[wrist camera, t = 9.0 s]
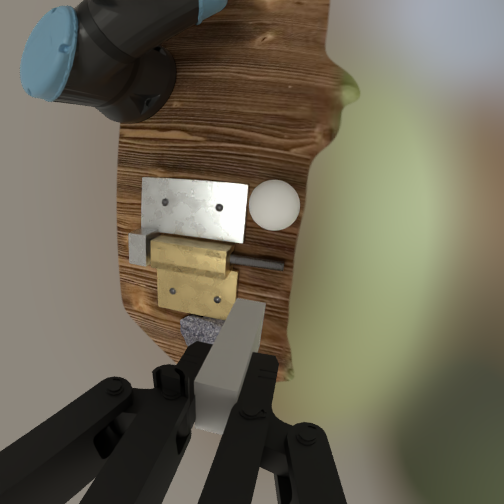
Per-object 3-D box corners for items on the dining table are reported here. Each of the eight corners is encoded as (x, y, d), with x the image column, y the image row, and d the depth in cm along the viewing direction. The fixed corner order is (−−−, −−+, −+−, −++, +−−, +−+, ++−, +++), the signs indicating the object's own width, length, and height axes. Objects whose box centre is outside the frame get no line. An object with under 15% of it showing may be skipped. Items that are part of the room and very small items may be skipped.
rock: (240, 330, 45) (237, 381, 47) (249, 317, 50) (244, 366, 52) (172, 316, 48) (174, 365, 49) (186, 306, 53) (186, 353, 55)
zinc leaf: (145, 176, 46) (129, 178, 41) (293, 189, 42) (291, 192, 37) (144, 254, 50) (129, 263, 45) (282, 276, 46) (279, 288, 41)
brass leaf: (159, 232, 48) (145, 239, 43) (241, 243, 46) (233, 252, 41) (160, 303, 52) (148, 316, 47) (235, 319, 50) (227, 334, 45)
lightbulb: (251, 193, 43) (233, 202, 33) (284, 169, 41) (276, 169, 31) (276, 226, 44) (265, 246, 34) (309, 203, 42) (310, 215, 32)
